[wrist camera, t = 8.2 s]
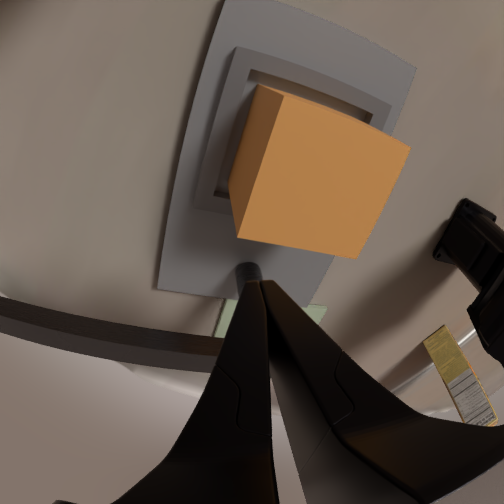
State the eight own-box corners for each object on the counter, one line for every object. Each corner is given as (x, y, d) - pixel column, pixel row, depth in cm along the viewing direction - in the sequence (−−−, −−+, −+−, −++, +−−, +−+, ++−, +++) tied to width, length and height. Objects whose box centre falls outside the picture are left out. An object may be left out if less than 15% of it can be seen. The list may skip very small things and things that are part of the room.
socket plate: (408, 66, 15) (424, 69, 14) (303, 299, 26) (309, 314, 24) (228, -8, 12) (231, -16, 10) (158, 279, 22) (156, 296, 21)
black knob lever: (273, 261, 21) (304, 359, 15) (262, 287, 22) (286, 383, 16) (8, 215, 16) (-53, 294, 9) (12, 244, 17) (-39, 325, 10)
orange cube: (353, 117, 16) (411, 147, 11) (318, 203, 19) (356, 259, 14) (257, 83, 14) (284, 95, 10) (227, 182, 18) (237, 237, 13)
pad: (326, 306, 27) (327, 309, 26) (289, 364, 31) (290, 367, 31) (227, 294, 24) (227, 298, 24) (206, 359, 29) (206, 362, 28)
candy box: (455, 342, 37) (499, 421, 25) (434, 359, 39) (474, 439, 26) (444, 323, 33) (499, 417, 20) (419, 342, 34) (469, 439, 22)
